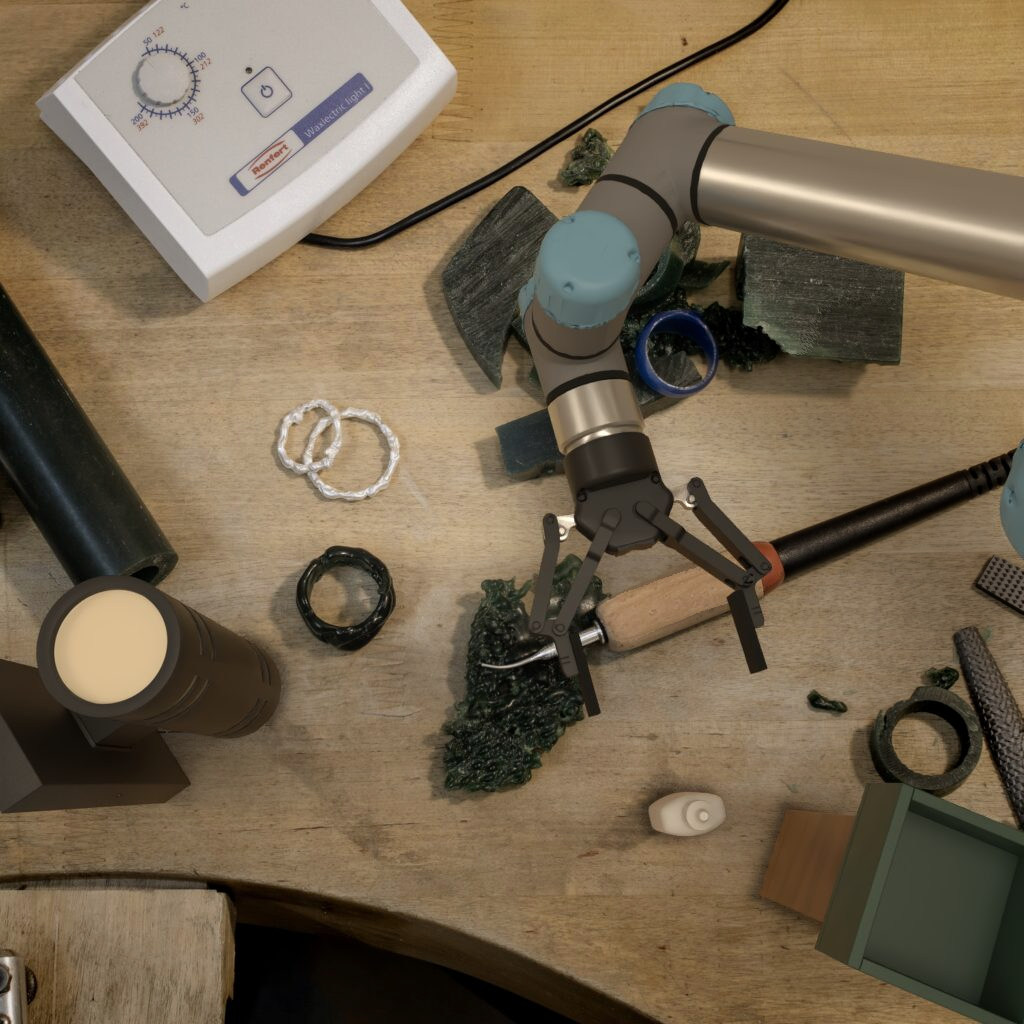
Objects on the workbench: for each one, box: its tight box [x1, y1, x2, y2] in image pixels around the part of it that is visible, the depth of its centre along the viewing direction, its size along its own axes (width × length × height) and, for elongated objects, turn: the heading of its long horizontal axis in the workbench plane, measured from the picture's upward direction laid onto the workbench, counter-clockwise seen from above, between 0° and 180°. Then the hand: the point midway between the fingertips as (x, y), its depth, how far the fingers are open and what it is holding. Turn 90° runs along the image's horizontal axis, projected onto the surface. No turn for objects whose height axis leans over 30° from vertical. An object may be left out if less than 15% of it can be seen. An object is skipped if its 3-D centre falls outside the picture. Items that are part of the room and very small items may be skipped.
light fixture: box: [0, 574, 282, 815], centre depth 82 cm, size 10×15×33 cm
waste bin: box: [814, 782, 1024, 1024], centre depth 68 cm, size 12×12×7 cm
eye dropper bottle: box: [648, 791, 727, 837], centre depth 90 cm, size 4×6×12 cm
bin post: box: [758, 808, 856, 923], centre depth 83 cm, size 8×8×25 cm
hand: (677, 693), depth 83 cm, fingers open, 13 cm apart
